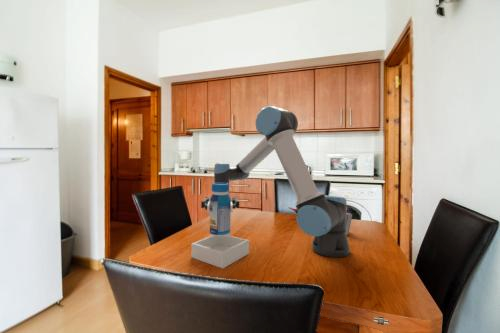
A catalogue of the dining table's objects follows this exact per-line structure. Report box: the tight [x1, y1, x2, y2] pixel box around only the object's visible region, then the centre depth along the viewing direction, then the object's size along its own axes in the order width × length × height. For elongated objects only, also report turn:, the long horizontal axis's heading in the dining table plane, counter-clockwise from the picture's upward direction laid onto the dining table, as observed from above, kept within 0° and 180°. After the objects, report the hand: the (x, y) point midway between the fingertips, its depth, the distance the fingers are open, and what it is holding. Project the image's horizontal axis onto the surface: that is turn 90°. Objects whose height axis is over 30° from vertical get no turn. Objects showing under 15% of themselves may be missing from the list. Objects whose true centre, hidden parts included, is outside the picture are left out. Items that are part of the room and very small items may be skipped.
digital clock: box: [346, 212, 353, 236], centre depth 130 cm, size 16×9×11 cm, turn 29°
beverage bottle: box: [209, 182, 232, 237], centre depth 98 cm, size 8×8×20 cm
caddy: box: [190, 234, 250, 269], centre depth 98 cm, size 16×16×6 cm
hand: (219, 208), depth 93 cm, fingers closed on beverage bottle, 8 cm apart
